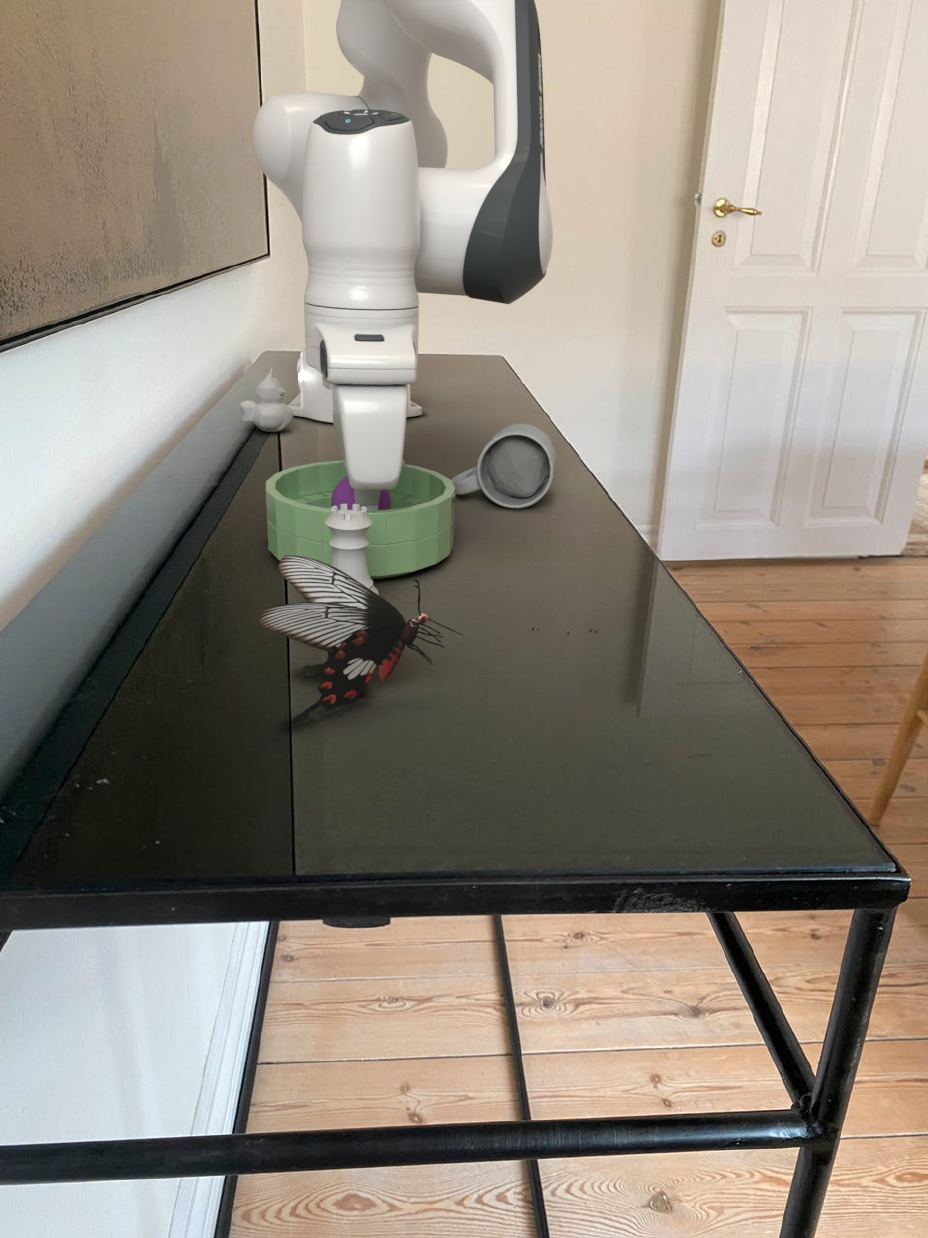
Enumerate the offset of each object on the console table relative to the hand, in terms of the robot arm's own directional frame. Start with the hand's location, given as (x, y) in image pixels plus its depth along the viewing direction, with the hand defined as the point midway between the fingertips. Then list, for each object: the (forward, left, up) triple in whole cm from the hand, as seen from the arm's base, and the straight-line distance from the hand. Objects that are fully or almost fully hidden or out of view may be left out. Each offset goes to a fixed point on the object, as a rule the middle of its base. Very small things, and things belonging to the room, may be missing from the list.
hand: (362, 511), depth 79 cm
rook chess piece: (+13, -2, -4) cm, 14 cm away
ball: (0, 0, +1) cm, 1 cm away
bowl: (0, 0, -4) cm, 4 cm away
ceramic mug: (-15, +16, -4) cm, 22 cm away
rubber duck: (-45, -8, -4) cm, 46 cm away
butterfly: (+27, -3, -4) cm, 27 cm away
